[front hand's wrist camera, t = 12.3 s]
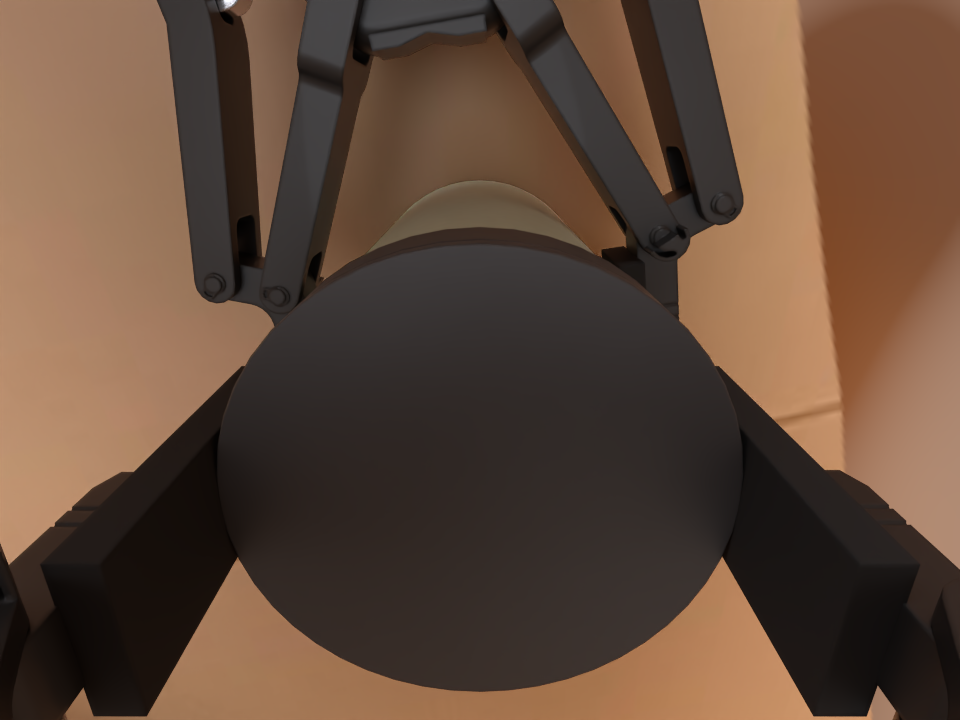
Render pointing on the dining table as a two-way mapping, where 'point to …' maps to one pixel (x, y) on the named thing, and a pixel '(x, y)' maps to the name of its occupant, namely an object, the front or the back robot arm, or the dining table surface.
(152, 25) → the dining table surface
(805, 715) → the dining table surface
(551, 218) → the jar
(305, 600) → the lid
